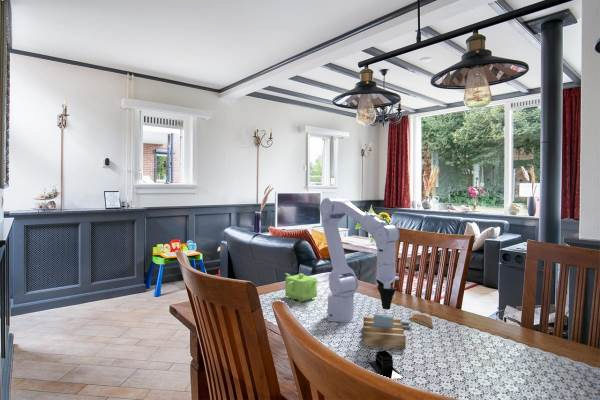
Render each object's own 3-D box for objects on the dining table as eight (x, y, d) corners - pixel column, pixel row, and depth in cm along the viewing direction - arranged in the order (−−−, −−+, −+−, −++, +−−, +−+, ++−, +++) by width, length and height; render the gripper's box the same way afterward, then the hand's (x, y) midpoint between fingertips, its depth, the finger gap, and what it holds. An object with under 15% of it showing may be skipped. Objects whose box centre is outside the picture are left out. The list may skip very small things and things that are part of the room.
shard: (433, 331, 120) (433, 325, 120) (409, 328, 122) (409, 323, 122) (431, 320, 130) (431, 315, 130) (409, 317, 133) (409, 313, 133)
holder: (388, 329, 120) (389, 326, 120) (387, 323, 125) (387, 320, 125) (410, 330, 119) (410, 327, 119) (408, 324, 124) (408, 321, 124)
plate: (373, 335, 112) (373, 316, 112) (373, 333, 114) (373, 314, 114) (393, 336, 112) (393, 317, 111) (392, 334, 113) (392, 315, 113)
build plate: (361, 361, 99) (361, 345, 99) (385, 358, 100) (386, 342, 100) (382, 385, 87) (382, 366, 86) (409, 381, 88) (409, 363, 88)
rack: (363, 346, 107) (364, 333, 107) (363, 328, 121) (363, 316, 121) (405, 349, 105) (405, 335, 105) (399, 330, 119) (400, 318, 119)
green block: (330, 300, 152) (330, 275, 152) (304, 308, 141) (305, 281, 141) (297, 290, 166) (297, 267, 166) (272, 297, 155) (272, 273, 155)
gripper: (401, 268, 106) (400, 313, 107) (396, 259, 121) (396, 299, 121) (377, 267, 108) (376, 311, 108) (375, 258, 122) (375, 297, 122)
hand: (385, 305), depth 115 cm, fingers open, 7 cm apart
